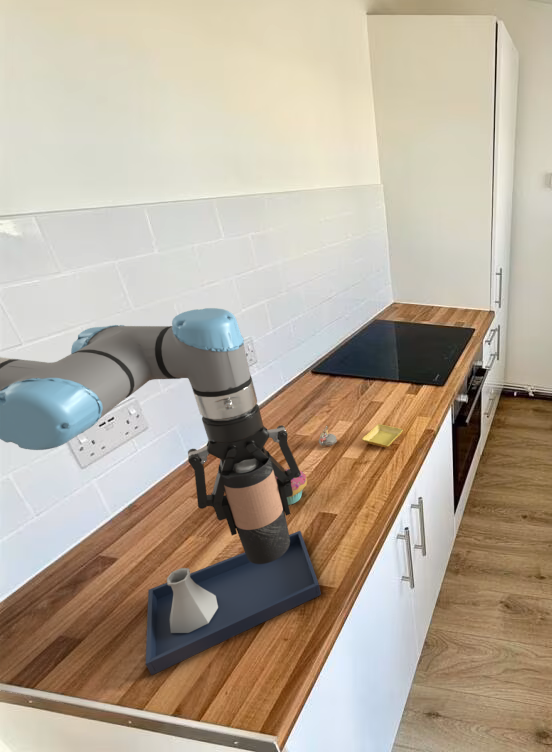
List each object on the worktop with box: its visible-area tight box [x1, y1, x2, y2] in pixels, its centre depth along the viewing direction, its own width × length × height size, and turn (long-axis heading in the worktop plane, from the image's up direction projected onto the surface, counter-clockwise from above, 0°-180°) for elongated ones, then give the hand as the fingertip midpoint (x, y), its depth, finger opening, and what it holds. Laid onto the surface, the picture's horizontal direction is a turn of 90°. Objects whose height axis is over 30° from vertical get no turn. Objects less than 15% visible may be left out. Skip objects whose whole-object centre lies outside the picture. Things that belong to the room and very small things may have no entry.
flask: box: [166, 567, 218, 633], centre depth 74 cm, size 7×7×10 cm
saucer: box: [361, 423, 404, 449], centre depth 125 cm, size 9×9×2 cm
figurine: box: [318, 424, 338, 448], centre depth 121 cm, size 5×4×6 cm
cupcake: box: [276, 468, 308, 506], centre depth 100 cm, size 9×8×12 cm
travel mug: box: [217, 449, 290, 564], centre depth 75 cm, size 8×8×20 cm
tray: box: [145, 530, 322, 676], centre depth 79 cm, size 25×15×3 cm, turn 125°
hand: (260, 519), depth 76 cm, fingers closed on travel mug, 8 cm apart
